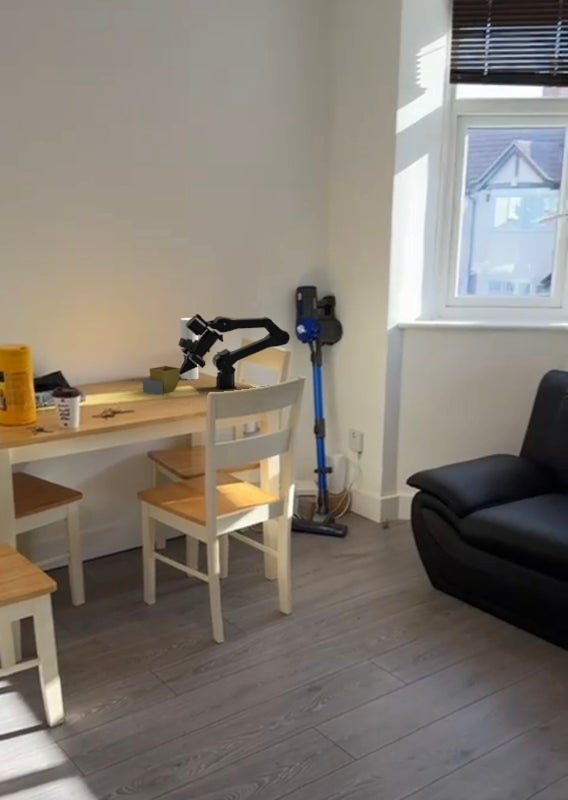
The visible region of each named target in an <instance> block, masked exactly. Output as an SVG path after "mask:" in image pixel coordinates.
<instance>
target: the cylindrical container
mask: <svg viewBox="0 0 568 800" xmlns="http://www.w3.org/2000/svg"><path fill="white" fill-rule="evenodd" d="M191 318H192V317H181V318H180V338H184V339H188V338H189V339H191V340H192V342H194V341H195V340H199V335H198V336H196V335H195V334H194V333H193V332H192V331H191V330H189V329H188V328H187V327H186V324H187V322H188V321H189V320H190V319H191ZM182 349H183V347H180V367H181V366H182V364H183V362H184V356H183V354H184V355H186V354H185V353H183V352H182ZM197 366H198V367H196V368H194V369H192V370H189V371H187V372H185V373H183V374H181V375H180V378H181V379H182V380H185V379H187V381H192V380H191V379H194V380H198V379H199V365H198V364H197Z"/></svg>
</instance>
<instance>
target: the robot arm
mask: <svg viewBox="0 0 568 800" xmlns="http://www.w3.org/2000/svg"><path fill="white" fill-rule="evenodd" d="M190 318H191V319H190V320H189V321H188V322H187V324H186V327H187V328H188V329H189V330H191V331H192V332H193V333H194V334H195V335H196V336H198V337H199V336H200V338H198V340H195V341H194V342H192V340H191V339H189V338H188V339H184V338H181V337H180V339H179V341H178V346H179V347H180V348H181V347H183V349H182V352H183V353H185V354H186V355H184V354H183V356H184V362H183V364H182V366H181V365H180V375H179V376H181V374H183V373H185V372H187V371H189V370H192V369H194V368H196V367H198V368H199V367H200V368H201V369H203V368H204V367H205V366H206V365H207V364H206V361H205V360H204V358H205V355H206V354H207V353H210V352H211V348H212V347H213V346H214V345H215V344H216V342H217V341H218V340H219V341H220V342H221V343H223V342H224V334H223V333H229V332H232V331H235V330H241V329H243V330H244V329H263V328H264V329H265V330H266V331H267V332H268V333H267V334H266V336H264V337H262V338H261V339H258V340H256V341H253V342H251V343H249V344H246V345H245V346H242V347H239V348H237V349H234V350H232V351H231V350H228V348H224V349H223V350H221V351H216V354H214V355H213V357H212V365H213V366H214V367H215V368H216V369H217V374H216V384H215V386H216V387H215V388H217V387H219V388H218V389H220V388H222V389H221V390H223V389H225V390H230V389H237V388H238V387H237V386H236V385H235V383H236V382H235V379H236V378H235V377H236V375H235V373H236V368H235V367H234V365H235V364H236V363H237V362H239V361H240V360H242V359H245V358H247V357H248V358H249V357H250V356H252V355H254V354H257V353H259V352H261V351H264V350H266V349H269V348H274V347H281V346H284V345H286V344H288V343H289V341H290V338H291V337H290V334H289V332H288V331H286V330H285V329H281V328H280V327H279V326H278V325H277V324H276V323H275V322H273V320H272V319H271V318H270V317H267V316H263V317H248V318H244V317H243V318H242V317H241V318H234V317H228V316H222V315H221V316H220V315H219V316H216V317H214V319H212V320H211V319H210V320H207V321H206V320H205V319H204V318H202V315H201V314H199V313H196V314H195V315H193V316H192V317H190ZM208 327H209V328H210V329H209V328H208ZM211 329H212V330H211ZM219 333H222V334H219ZM197 364H198V366H197Z"/></svg>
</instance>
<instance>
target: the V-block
mask: <svg viewBox="0 0 568 800" xmlns="http://www.w3.org/2000/svg"><path fill="white" fill-rule="evenodd" d="M142 391H143V393H148V394H153V393H154V395H155V394H156V395H164V392H163V381H158V380H151V377H150V376H149V377H147V378H143V379H142Z"/></svg>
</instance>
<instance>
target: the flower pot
mask: <svg viewBox="0 0 568 800" xmlns="http://www.w3.org/2000/svg"><path fill="white" fill-rule="evenodd" d="M180 368H181V367H180ZM180 368H179V367H174V366H170V365H169V366H168V365H162V366H161V365H160V366H156V367H150V368H149V377H151V380H158V381H163V393H169V392H174V391H175V390H176V388H177V386H178V385H179V384H178V383H179V382H180V376H181V375H180Z"/></svg>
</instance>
